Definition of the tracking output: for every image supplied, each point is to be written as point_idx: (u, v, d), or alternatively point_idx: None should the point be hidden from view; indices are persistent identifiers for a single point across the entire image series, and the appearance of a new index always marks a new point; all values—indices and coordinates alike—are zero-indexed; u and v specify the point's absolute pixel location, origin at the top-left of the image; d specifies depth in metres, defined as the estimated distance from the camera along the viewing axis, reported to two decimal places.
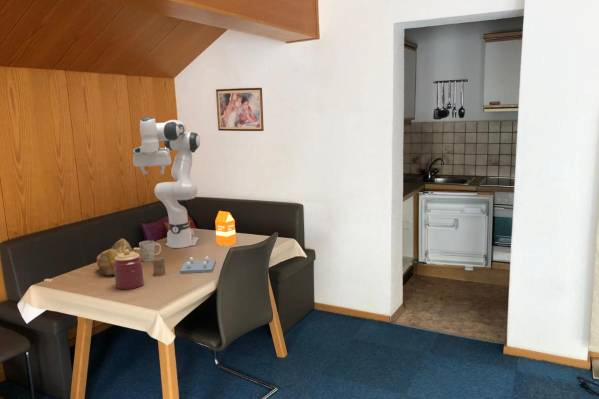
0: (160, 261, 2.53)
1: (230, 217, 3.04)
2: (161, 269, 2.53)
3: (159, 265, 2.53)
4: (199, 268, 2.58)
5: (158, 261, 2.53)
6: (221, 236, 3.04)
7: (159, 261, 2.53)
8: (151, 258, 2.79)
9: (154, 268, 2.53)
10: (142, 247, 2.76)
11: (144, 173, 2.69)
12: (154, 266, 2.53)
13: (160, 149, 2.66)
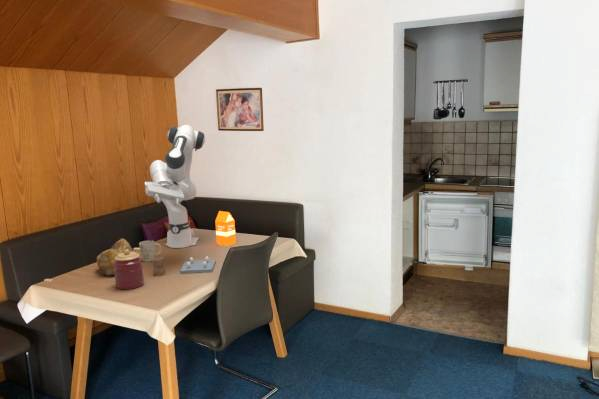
0: (160, 261, 2.53)
1: (230, 217, 3.04)
2: (161, 269, 2.53)
3: (159, 265, 2.53)
4: (199, 268, 2.58)
5: (158, 261, 2.53)
6: (221, 236, 3.04)
7: (159, 261, 2.53)
8: (151, 258, 2.79)
9: (154, 268, 2.53)
10: (142, 247, 2.76)
11: None
12: (154, 266, 2.53)
13: None
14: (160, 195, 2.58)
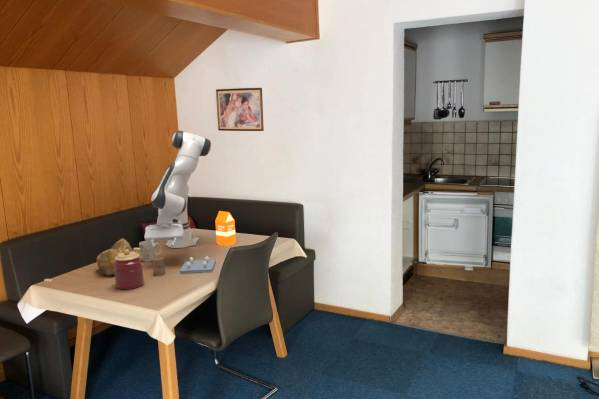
0: (160, 261, 2.53)
1: (230, 217, 3.04)
2: (161, 269, 2.53)
3: (159, 265, 2.53)
4: (199, 268, 2.58)
5: (158, 261, 2.53)
6: (221, 236, 3.04)
7: (159, 261, 2.53)
8: (151, 258, 2.79)
9: (154, 268, 2.53)
10: (142, 247, 2.76)
11: None
12: (154, 266, 2.53)
13: None
14: (159, 238, 2.66)
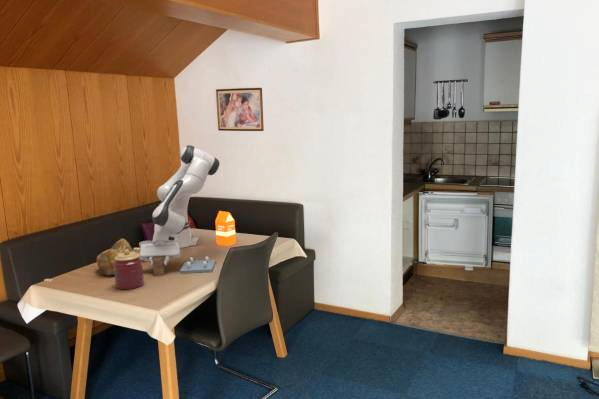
0: (160, 261, 2.53)
1: (230, 217, 3.04)
2: (161, 269, 2.53)
3: (159, 265, 2.53)
4: (199, 268, 2.58)
5: (158, 261, 2.53)
6: (221, 236, 3.04)
7: (159, 261, 2.53)
8: None
9: (154, 268, 2.53)
10: None
11: None
12: (154, 266, 2.53)
13: None
14: None
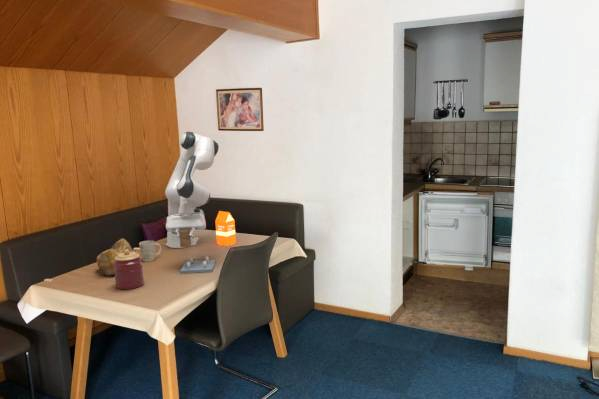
0: (186, 232, 2.56)
1: (230, 217, 3.04)
2: (187, 240, 2.56)
3: (185, 236, 2.56)
4: (199, 268, 2.58)
5: (184, 232, 2.56)
6: (221, 236, 3.04)
7: (185, 232, 2.56)
8: (151, 258, 2.79)
9: (180, 239, 2.56)
10: (142, 247, 2.76)
11: None
12: (180, 237, 2.56)
13: None
14: (180, 228, 2.61)
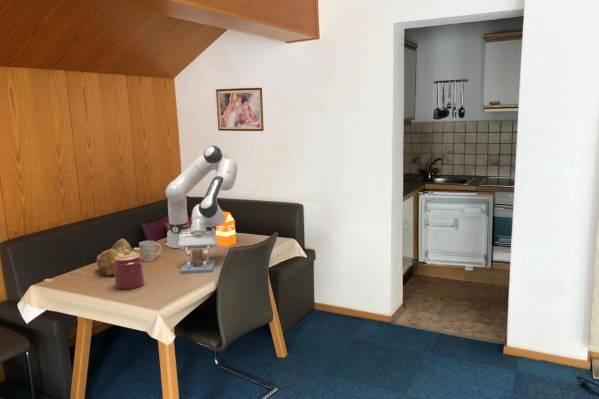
0: (199, 252, 2.60)
1: (230, 217, 3.04)
2: (200, 260, 2.60)
3: (198, 256, 2.60)
4: (199, 268, 2.58)
5: (197, 252, 2.60)
6: (221, 236, 3.04)
7: (198, 252, 2.60)
8: (151, 258, 2.79)
9: (193, 259, 2.60)
10: (142, 247, 2.76)
11: None
12: (193, 257, 2.60)
13: None
14: (192, 246, 2.65)
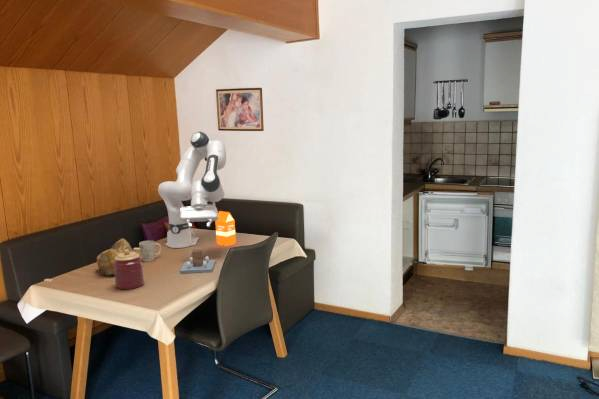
0: (199, 252, 2.60)
1: (230, 217, 3.04)
2: (200, 260, 2.60)
3: (198, 256, 2.60)
4: (199, 268, 2.58)
5: (197, 252, 2.60)
6: (221, 236, 3.04)
7: (198, 252, 2.60)
8: (151, 258, 2.79)
9: (193, 259, 2.60)
10: (142, 247, 2.76)
11: None
12: (193, 257, 2.60)
13: None
14: (194, 219, 2.73)
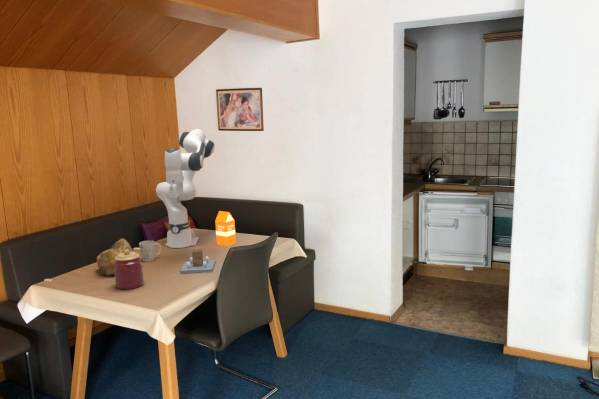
0: (199, 252, 2.60)
1: (230, 217, 3.04)
2: (200, 260, 2.60)
3: (198, 256, 2.60)
4: (199, 268, 2.58)
5: (197, 252, 2.60)
6: (221, 236, 3.04)
7: (198, 252, 2.60)
8: (151, 258, 2.79)
9: (193, 259, 2.60)
10: (142, 247, 2.76)
11: None
12: (193, 257, 2.60)
13: None
14: None
